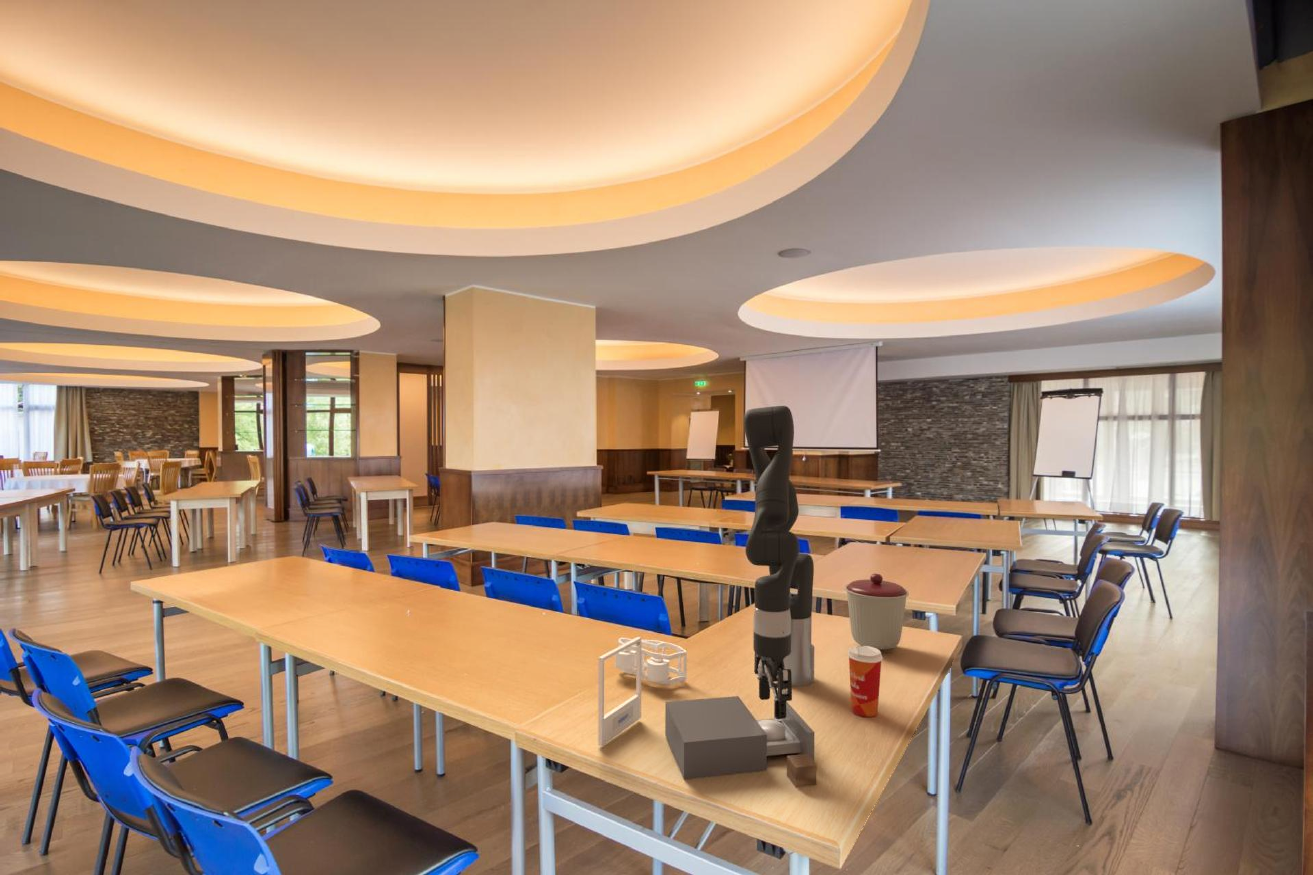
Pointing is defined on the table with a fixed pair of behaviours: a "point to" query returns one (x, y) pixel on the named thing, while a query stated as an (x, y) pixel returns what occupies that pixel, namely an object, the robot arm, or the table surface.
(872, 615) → the canister
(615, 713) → the photo frame
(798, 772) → the block
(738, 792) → the table surface
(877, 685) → the paper cup
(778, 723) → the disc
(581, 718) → the table surface
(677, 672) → the cup holder
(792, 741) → the grey drawer
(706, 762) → the grey drawer box
